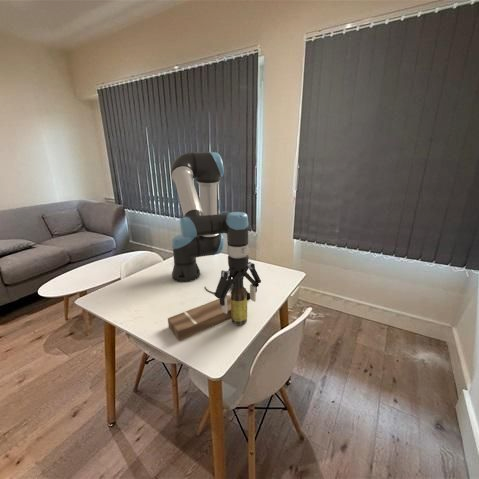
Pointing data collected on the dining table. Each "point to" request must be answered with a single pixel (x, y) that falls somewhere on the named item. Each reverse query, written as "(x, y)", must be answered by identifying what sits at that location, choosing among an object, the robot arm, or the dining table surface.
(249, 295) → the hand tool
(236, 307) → the sauce bottle
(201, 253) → the robot arm
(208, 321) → the walnut plank
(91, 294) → the dining table surface
